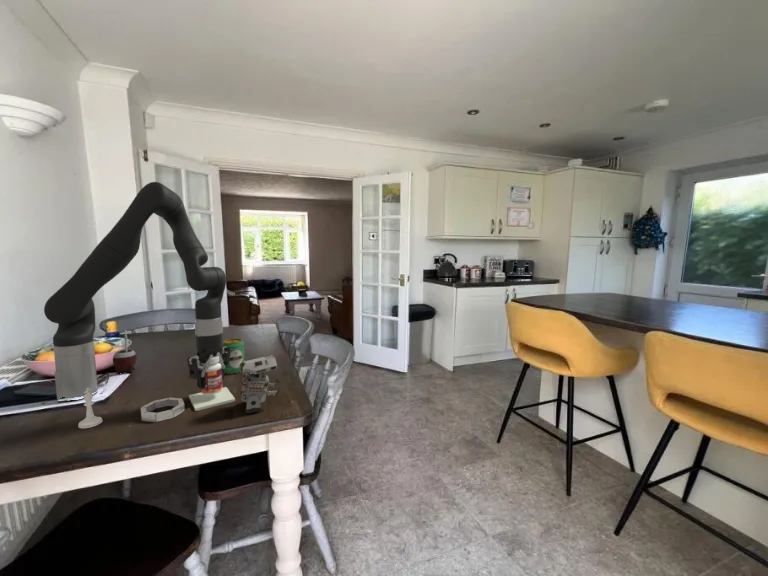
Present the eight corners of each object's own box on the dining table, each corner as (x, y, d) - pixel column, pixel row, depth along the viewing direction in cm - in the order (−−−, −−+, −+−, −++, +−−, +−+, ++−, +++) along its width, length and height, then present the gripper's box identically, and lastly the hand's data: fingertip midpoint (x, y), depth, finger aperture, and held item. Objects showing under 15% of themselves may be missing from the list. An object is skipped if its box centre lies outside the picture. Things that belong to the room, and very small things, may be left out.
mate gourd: (122, 376, 122) (119, 336, 120) (107, 373, 124) (104, 334, 123) (142, 369, 129) (140, 331, 127) (128, 367, 131) (126, 329, 130)
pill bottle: (210, 397, 101) (207, 361, 100) (196, 393, 104) (193, 358, 102) (227, 389, 107) (225, 355, 105) (213, 385, 109) (211, 352, 108)
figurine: (281, 409, 100) (281, 361, 98) (239, 415, 96) (238, 365, 94) (279, 396, 108) (278, 352, 106) (241, 401, 104) (239, 355, 102)
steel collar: (142, 425, 89) (141, 418, 89) (140, 410, 97) (140, 403, 97) (186, 414, 96) (185, 407, 95) (181, 401, 104) (180, 395, 103)
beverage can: (225, 376, 124) (224, 344, 123) (219, 369, 130) (218, 340, 129) (247, 371, 129) (246, 341, 128) (241, 365, 135) (240, 336, 134)
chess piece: (107, 419, 92) (104, 384, 91) (92, 428, 87) (89, 392, 86) (88, 418, 92) (85, 384, 91) (73, 428, 87) (69, 391, 86)
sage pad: (195, 411, 98) (195, 408, 97) (189, 397, 106) (189, 395, 106) (235, 401, 104) (235, 398, 104) (226, 389, 113) (226, 386, 113)
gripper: (219, 325, 111) (221, 374, 113) (178, 335, 98) (181, 390, 99) (236, 328, 108) (238, 377, 110) (197, 338, 95) (199, 395, 97)
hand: (211, 383), depth 105 cm, fingers closed on pill bottle, 6 cm apart
